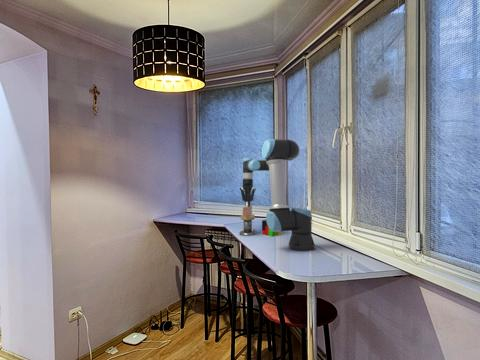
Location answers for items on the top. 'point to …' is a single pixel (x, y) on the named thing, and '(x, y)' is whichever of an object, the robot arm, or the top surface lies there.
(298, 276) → the top surface
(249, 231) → the post
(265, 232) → the puzzle toy
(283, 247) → the top surface
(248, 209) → the coupling
